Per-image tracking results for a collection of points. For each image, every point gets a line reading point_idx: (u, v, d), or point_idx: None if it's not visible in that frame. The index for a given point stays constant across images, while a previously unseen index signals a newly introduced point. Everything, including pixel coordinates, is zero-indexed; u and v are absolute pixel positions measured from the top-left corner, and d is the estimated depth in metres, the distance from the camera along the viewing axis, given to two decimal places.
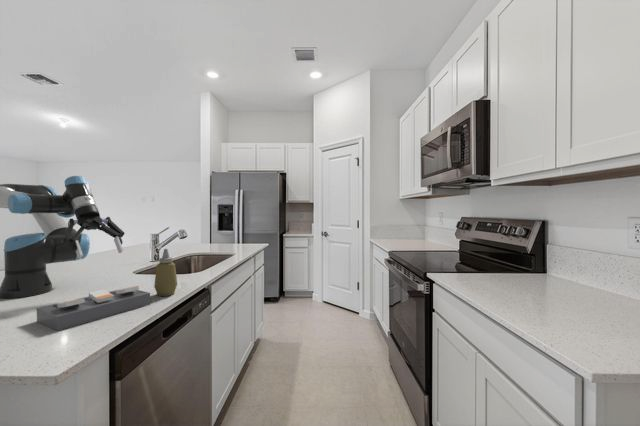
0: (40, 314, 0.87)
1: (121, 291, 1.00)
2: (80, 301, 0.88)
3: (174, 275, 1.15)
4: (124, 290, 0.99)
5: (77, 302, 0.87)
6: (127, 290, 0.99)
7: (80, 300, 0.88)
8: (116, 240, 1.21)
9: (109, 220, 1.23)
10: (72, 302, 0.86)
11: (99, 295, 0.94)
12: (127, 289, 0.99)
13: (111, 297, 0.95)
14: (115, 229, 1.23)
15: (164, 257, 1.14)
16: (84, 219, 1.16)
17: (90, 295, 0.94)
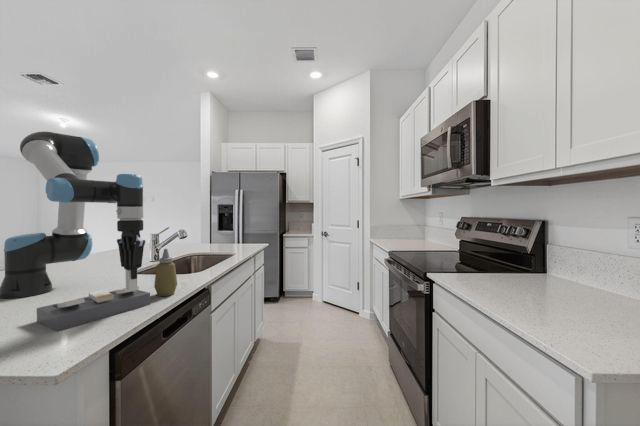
0: (40, 314, 0.87)
1: (121, 291, 1.00)
2: (80, 301, 0.88)
3: (174, 275, 1.15)
4: (124, 290, 0.99)
5: (77, 302, 0.87)
6: (127, 290, 0.99)
7: (80, 300, 0.88)
8: None
9: (135, 245, 0.97)
10: (72, 302, 0.86)
11: (99, 295, 0.94)
12: (127, 289, 0.99)
13: (111, 297, 0.95)
14: None
15: (164, 257, 1.14)
16: (123, 234, 1.01)
17: (90, 295, 0.94)
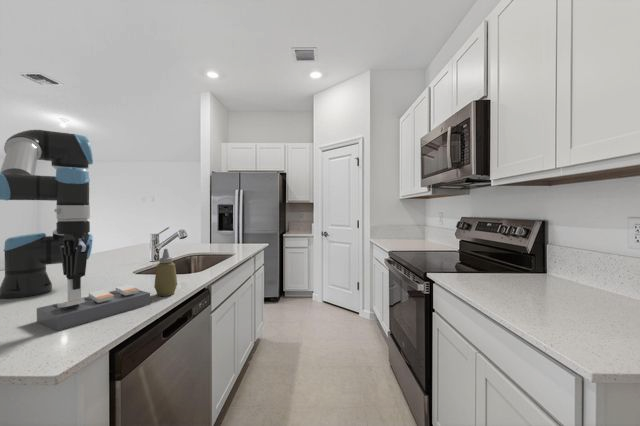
0: (40, 314, 0.87)
1: (121, 292, 1.00)
2: (80, 301, 0.88)
3: (174, 275, 1.15)
4: (124, 293, 0.99)
5: (77, 302, 0.87)
6: (127, 293, 0.99)
7: (80, 300, 0.88)
8: None
9: (77, 250, 0.83)
10: (72, 302, 0.86)
11: (99, 295, 0.94)
12: (127, 292, 0.99)
13: (111, 297, 0.95)
14: None
15: (164, 257, 1.14)
16: (65, 236, 0.87)
17: (90, 295, 0.94)
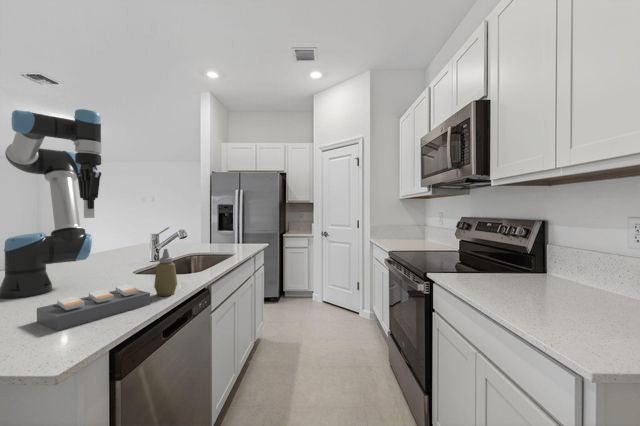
0: (40, 314, 0.87)
1: (121, 292, 1.00)
2: (80, 305, 0.88)
3: (174, 275, 1.15)
4: (124, 293, 0.99)
5: (77, 306, 0.87)
6: (127, 294, 0.99)
7: (80, 304, 0.88)
8: None
9: (91, 176, 1.04)
10: (72, 306, 0.86)
11: (99, 295, 0.94)
12: (127, 293, 0.99)
13: (111, 297, 0.95)
14: None
15: (164, 257, 1.14)
16: (81, 167, 1.08)
17: (90, 295, 0.94)
